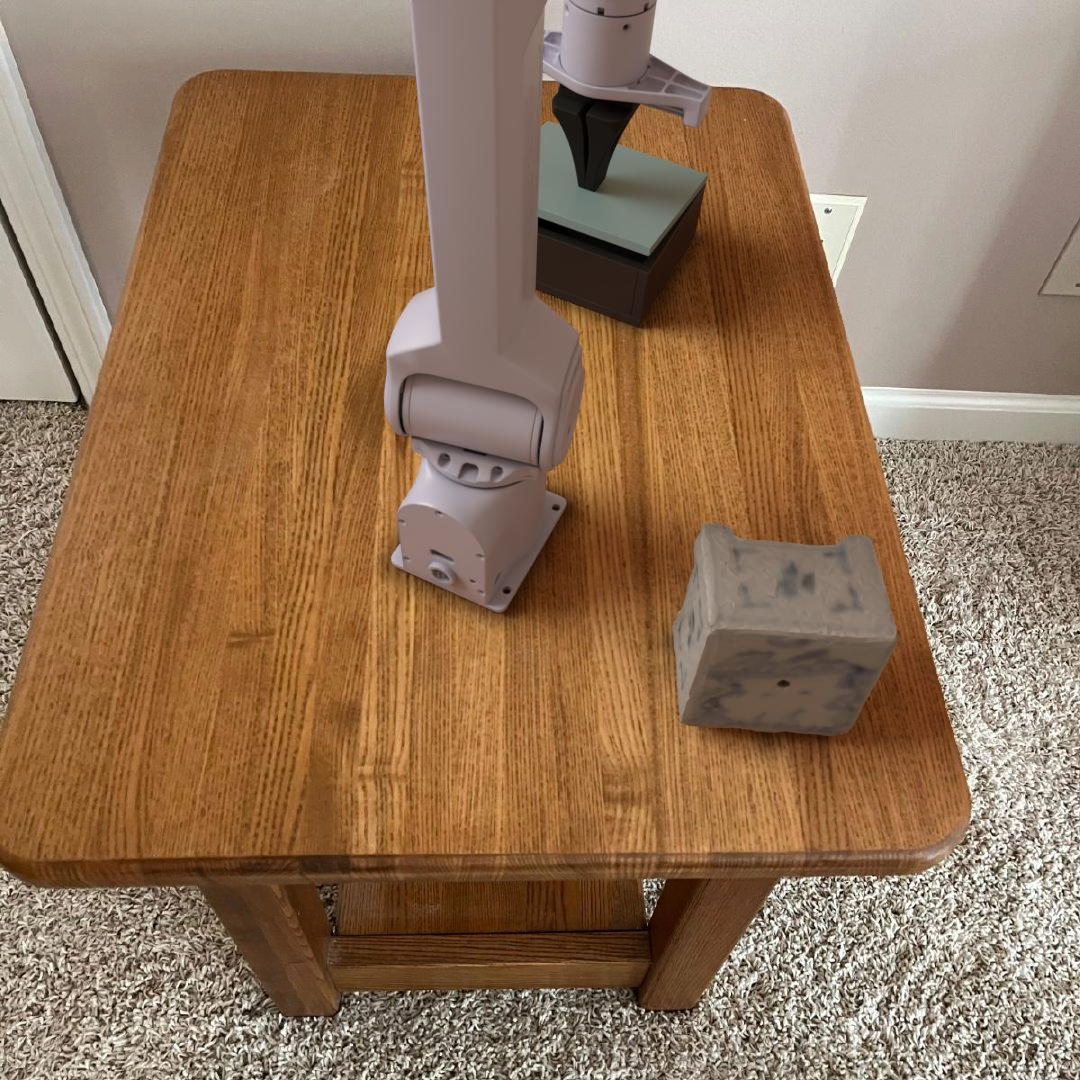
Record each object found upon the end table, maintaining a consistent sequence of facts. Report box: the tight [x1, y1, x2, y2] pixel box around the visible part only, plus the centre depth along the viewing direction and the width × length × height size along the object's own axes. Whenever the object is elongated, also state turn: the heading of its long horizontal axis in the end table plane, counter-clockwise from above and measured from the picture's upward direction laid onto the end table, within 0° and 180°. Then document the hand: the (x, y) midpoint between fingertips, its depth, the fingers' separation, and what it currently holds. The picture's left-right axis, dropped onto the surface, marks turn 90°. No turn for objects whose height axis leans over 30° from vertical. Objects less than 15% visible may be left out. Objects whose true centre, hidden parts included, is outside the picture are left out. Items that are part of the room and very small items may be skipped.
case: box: [535, 182, 707, 329], centre depth 76 cm, size 12×14×5 cm
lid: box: [538, 120, 709, 256], centre depth 72 cm, size 12×14×1 cm
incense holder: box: [671, 522, 899, 737], centre depth 54 cm, size 10×8×10 cm
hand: (591, 182), depth 71 cm, fingers closed
